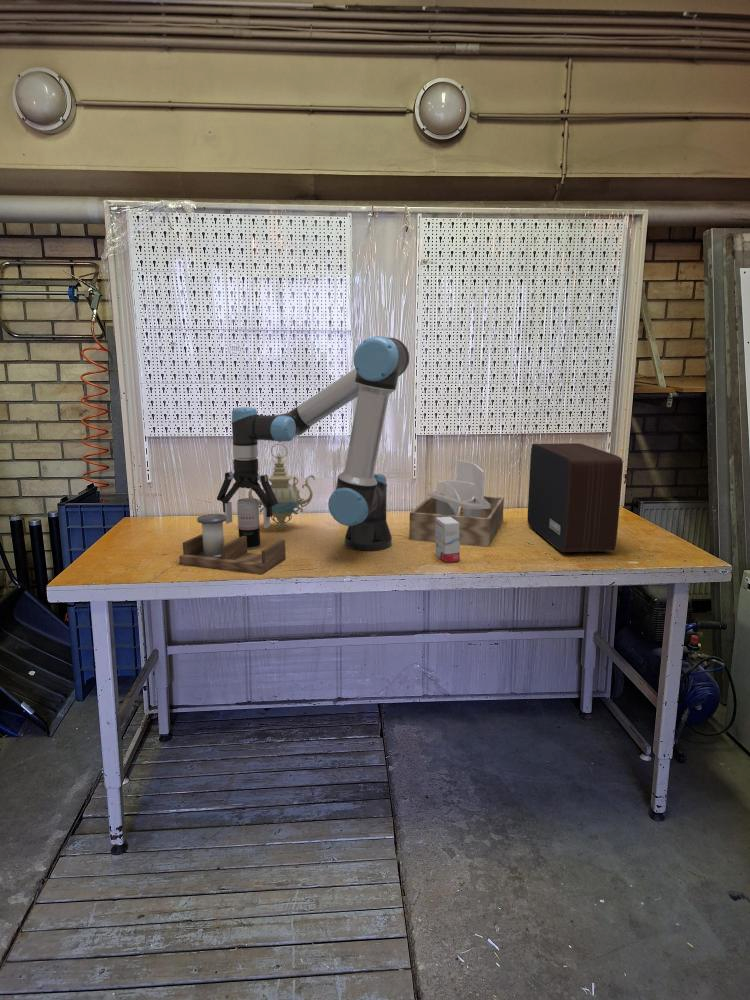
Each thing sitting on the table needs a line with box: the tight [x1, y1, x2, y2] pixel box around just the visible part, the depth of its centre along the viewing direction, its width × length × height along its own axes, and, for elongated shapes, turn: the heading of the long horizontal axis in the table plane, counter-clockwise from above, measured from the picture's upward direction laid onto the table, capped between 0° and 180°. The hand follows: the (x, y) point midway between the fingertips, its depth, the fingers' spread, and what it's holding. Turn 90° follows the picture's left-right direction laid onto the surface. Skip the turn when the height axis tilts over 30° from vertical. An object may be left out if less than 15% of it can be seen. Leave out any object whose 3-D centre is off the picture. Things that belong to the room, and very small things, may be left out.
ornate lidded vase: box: [247, 443, 316, 530], centre depth 215 cm, size 24×12×30 cm, turn 91°
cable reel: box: [196, 513, 227, 558], centre depth 184 cm, size 8×8×12 cm
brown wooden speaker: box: [527, 442, 624, 553], centre depth 201 cm, size 36×18×30 cm, turn 4°
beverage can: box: [236, 497, 261, 550], centre depth 196 cm, size 6×7×15 cm
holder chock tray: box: [408, 495, 505, 548], centre depth 215 cm, size 26×33×9 cm
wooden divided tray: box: [178, 533, 287, 575], centre depth 182 cm, size 27×14×6 cm, turn 71°
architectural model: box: [427, 459, 491, 518], centre depth 213 cm, size 28×21×23 cm
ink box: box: [435, 517, 461, 563], centre depth 184 cm, size 9×5×12 cm, turn 13°
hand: (247, 524), depth 196 cm, fingers open, 13 cm apart
